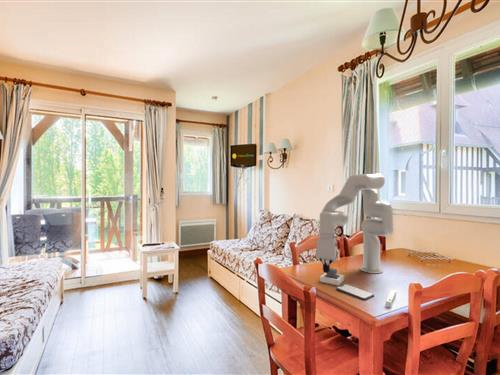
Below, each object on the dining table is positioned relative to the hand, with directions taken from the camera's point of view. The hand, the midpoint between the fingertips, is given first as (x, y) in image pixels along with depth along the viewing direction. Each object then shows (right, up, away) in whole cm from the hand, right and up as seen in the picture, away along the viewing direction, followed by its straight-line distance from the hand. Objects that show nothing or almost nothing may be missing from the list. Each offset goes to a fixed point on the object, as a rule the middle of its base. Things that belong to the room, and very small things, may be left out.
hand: (326, 272), depth 140 cm
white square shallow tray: (+6, -8, +9) cm, 13 cm away
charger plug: (+5, -7, +9) cm, 13 cm away
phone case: (+12, -9, -7) cm, 16 cm away
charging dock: (+25, -8, -16) cm, 31 cm away
